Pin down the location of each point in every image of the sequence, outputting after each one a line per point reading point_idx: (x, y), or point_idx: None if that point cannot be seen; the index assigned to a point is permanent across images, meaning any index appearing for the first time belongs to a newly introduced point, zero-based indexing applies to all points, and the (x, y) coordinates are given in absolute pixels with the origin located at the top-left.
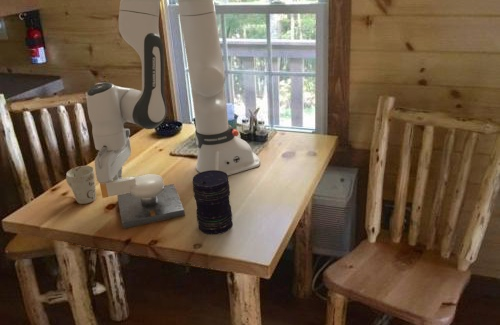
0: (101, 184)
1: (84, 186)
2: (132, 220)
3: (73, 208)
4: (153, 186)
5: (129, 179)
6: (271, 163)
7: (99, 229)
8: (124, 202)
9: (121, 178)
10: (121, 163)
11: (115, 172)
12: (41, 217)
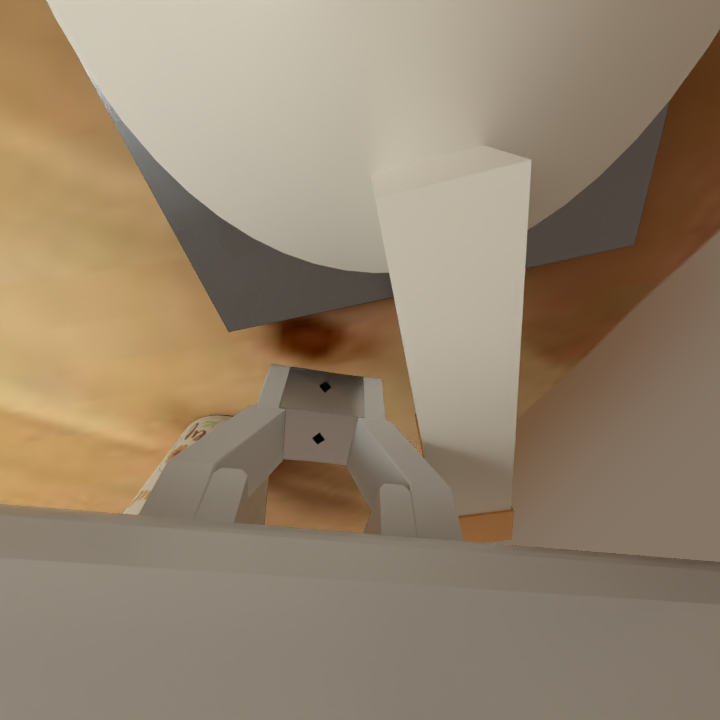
0: (495, 534)
1: (252, 519)
2: (653, 163)
3: (307, 467)
4: None
5: (506, 280)
6: None
7: (536, 352)
8: (340, 269)
9: (287, 382)
10: (230, 633)
11: (676, 624)
12: (357, 525)
